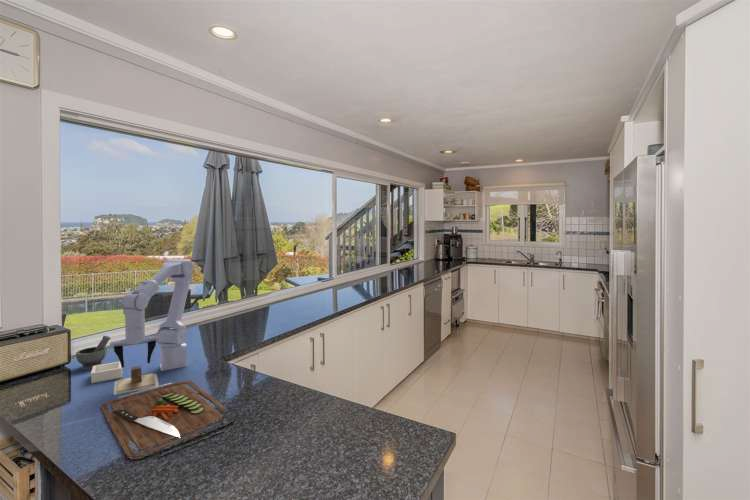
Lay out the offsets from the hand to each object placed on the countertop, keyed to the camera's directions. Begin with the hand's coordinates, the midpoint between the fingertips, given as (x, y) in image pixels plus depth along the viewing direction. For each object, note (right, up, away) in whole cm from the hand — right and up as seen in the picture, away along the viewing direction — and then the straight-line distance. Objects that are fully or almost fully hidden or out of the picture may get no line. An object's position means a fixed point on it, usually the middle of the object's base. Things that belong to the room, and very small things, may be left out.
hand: (135, 364), depth 128 cm
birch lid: (0, -7, 0) cm, 7 cm away
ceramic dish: (-15, -7, +7) cm, 18 cm away
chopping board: (+23, -9, -20) cm, 31 cm away
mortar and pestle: (-29, -7, +18) cm, 35 cm away
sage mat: (0, -7, 0) cm, 7 cm away
